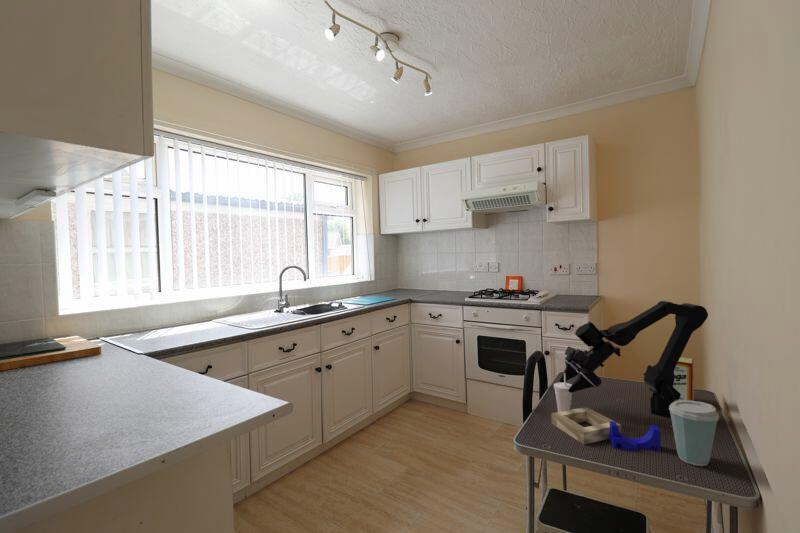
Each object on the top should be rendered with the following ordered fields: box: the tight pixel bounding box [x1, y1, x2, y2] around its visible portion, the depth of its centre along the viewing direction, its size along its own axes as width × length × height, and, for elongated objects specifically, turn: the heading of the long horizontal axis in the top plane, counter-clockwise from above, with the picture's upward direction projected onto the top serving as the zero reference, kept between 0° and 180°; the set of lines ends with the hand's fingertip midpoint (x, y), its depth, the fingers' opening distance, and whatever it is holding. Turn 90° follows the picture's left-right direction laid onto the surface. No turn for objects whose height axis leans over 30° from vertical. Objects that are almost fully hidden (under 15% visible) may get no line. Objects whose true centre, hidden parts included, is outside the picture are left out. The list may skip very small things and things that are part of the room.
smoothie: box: [553, 373, 573, 412], centre depth 132 cm, size 6×6×14 cm
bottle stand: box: [550, 406, 622, 445], centre depth 119 cm, size 14×14×4 cm
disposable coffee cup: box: [669, 400, 720, 467], centre depth 101 cm, size 11×11×15 cm
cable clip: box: [609, 421, 661, 452], centre depth 108 cm, size 12×4×6 cm, turn 73°
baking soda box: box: [673, 356, 695, 401], centre depth 138 cm, size 10×6×16 cm
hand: (564, 386), depth 131 cm, fingers open, 9 cm apart
